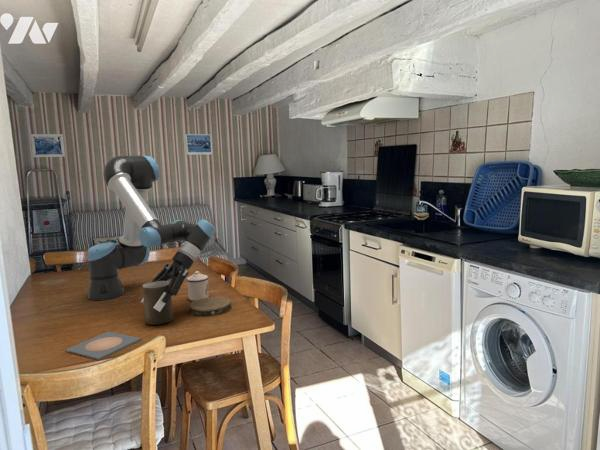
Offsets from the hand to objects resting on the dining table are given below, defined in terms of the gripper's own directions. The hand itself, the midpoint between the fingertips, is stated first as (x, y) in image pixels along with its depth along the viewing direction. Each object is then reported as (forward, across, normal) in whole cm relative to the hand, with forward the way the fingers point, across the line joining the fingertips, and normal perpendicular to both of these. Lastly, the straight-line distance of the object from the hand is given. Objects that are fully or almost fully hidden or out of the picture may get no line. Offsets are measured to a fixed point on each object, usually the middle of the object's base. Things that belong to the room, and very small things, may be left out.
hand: (150, 306), depth 155 cm
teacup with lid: (-15, -15, +25) cm, 33 cm away
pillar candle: (+2, 0, +6) cm, 7 cm away
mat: (+18, +6, -9) cm, 21 cm away
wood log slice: (-11, +3, +21) cm, 24 cm away
